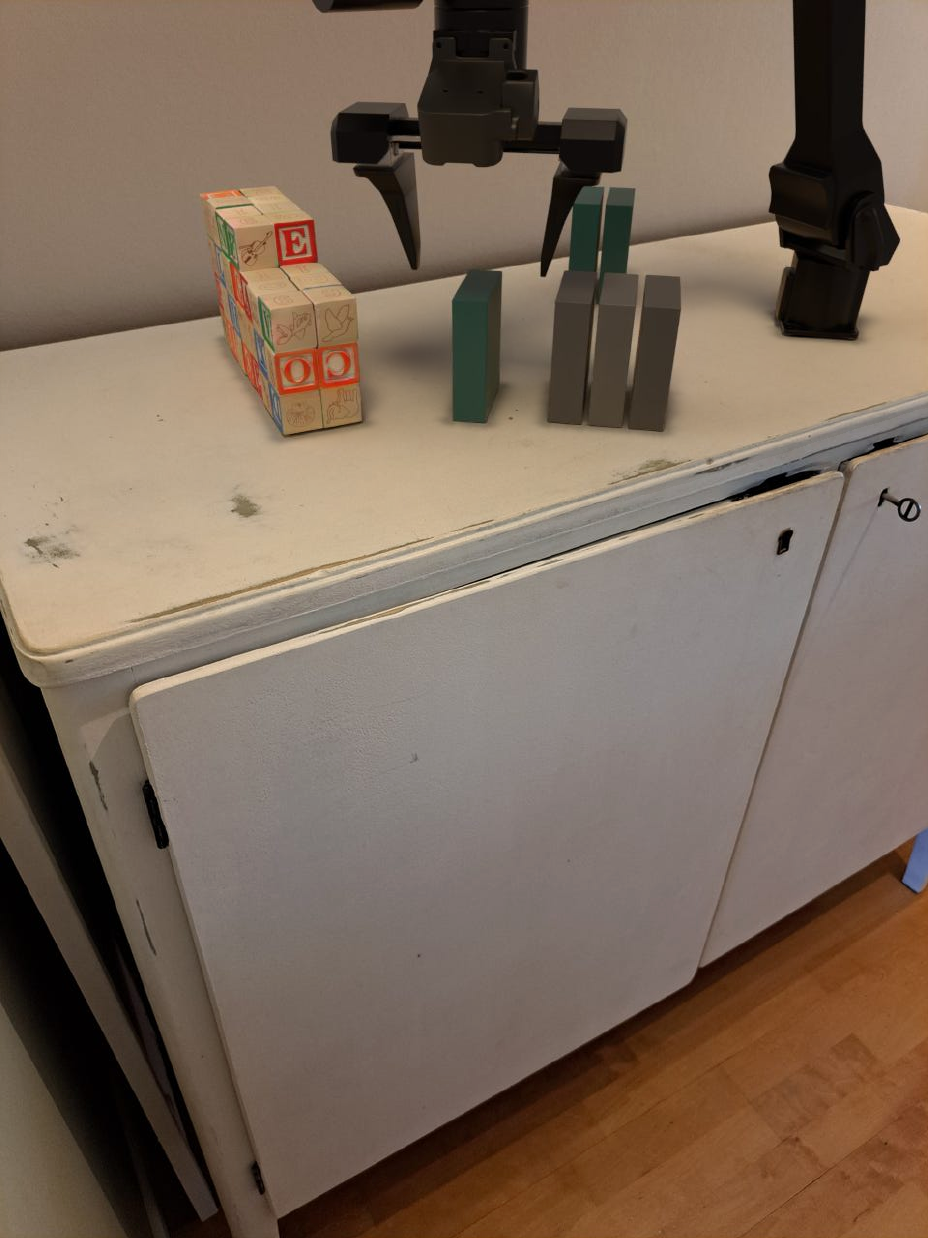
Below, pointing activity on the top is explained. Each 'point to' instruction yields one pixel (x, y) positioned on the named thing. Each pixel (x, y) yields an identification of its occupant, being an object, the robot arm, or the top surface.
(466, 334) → the teal book
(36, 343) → the top surface
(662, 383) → the grey books
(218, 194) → the stack of blocks
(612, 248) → the teal books
